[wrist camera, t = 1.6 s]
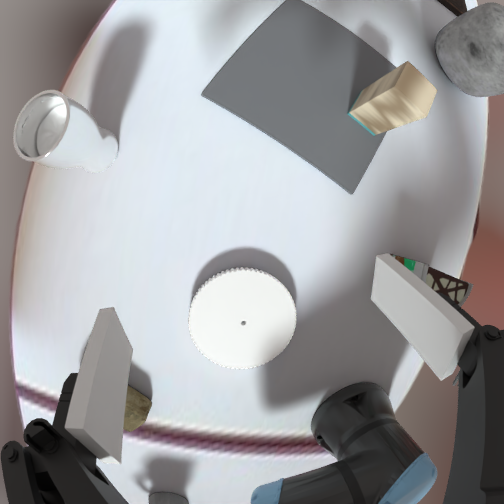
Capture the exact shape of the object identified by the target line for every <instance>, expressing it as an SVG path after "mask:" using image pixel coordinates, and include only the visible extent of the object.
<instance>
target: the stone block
mask: <svg viewBox="0 0 504 504" xmlns="http://www.w3.org/2000/svg"><path fill="white" fill-rule="evenodd" d="M151 406H152V402H151V401H150V400H149V399H148V398H147V397H146V396H144V395H142V394H141V393H139V392H138V391H137V390H135V389H133V388H131V387H130V386H129V385H128V387H127V395H126V404H125V414H124V425H123V429H125V430H126V431H129V432H131V431H133V430H135V429H136V428H138V427H139V426H141V425H142V424H143V423H144V422H145V421H146V419H147V416H148V413H149V410H150V408H151Z"/></svg>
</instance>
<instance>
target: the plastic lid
mask: <svg viewBox="0 0 504 504" xmlns="http://www.w3.org/2000/svg"><path fill="white" fill-rule="evenodd" d="M294 306H295V304H294V300H293V299H292V296H291V295H290V293H289V291H288V290H287V289H286V287H285V286H284V285H283V284H282V283H281V282H280V281H279V280H278V279H276V278H275V277H274V276H272V275H271V274H268V273H267V272H263V271H262V270H260V271H259V270H258V269H253V268H250V269H249V268H248V267H246V268H243V267H241V268H238V267H236V269H233V268H231V270H228V269H227V270H226V271H225V272H224V271H221V273H217V275H216V276H215V275H213V277H212V278H209V280H208V281H205V284H202V285H201V288H199V289H198V292H196V295H195V296H194V298H193V300H192V303H191V305H190V310H189V317H188V319H189V320H188V324H189V326H188V327H189V328H190V329H189V332H190V333H191V334H190V336H191V337H192V341H194V345H196V348H197V349H199V352H202V355H205V357H206V358H209V360H210V361H211V360H212V362H213V363H216V364H217V365H219V364H220V365H221V366H225V367H226V368H227V367H229V368H230V369H231V368H234V369H236V368H238V369H241V368H243V369H245V368H247V369H250V368H251V367H252V368H254V367H255V366H256V367H258V366H259V365H261V366H262V365H263V364H264V363H265V364H266V363H267V362H268V361H269V362H270V361H271V359H275V357H277V356H278V354H281V353H282V352H281V351H282V350H283V351H284V350H285V349H284V348H285V347H287V344H289V343H290V340H291V339H292V336H293V335H294V334H293V332H295V329H294V328H295V327H296V325H295V323H297V321H296V319H297V317H296V314H297V313H296V311H295V310H296V308H295V307H294Z"/></svg>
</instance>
